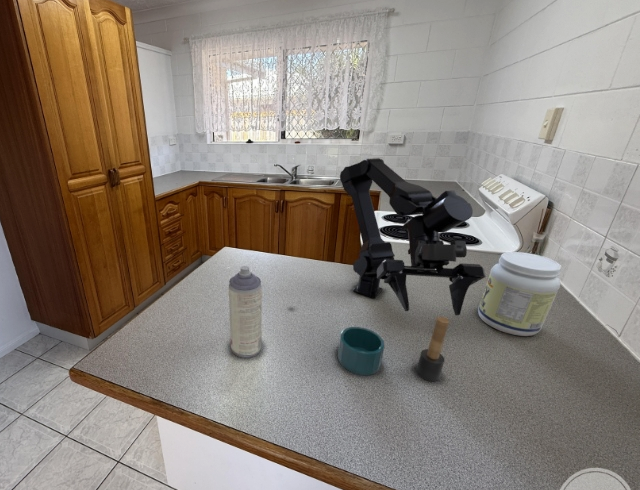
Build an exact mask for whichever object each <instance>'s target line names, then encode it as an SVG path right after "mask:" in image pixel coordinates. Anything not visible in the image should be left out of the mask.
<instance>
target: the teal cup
mask: <svg viewBox="0 0 640 490" xmlns="http://www.w3.org/2000/svg"><path fill="white" fill-rule="evenodd" d="M384 350H385V341H384V339H383V338H382V337H381V335H380V334H378V333H377V332H375V331H374V330H371V329H369V328H366V327H360V326H350V327H347V328H344V329H343V330H342V331H341V332H340V334H339V343H338V351H337V360H338V363H339V364H340V365H341V367H343V368H344V369H345V370H347V371H349V372H350V373H353V374H355V375H359V376H371V375H374V374H376V373H377V372H379V370H380V368H381V365H382V360H383V355H384Z"/></svg>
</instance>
